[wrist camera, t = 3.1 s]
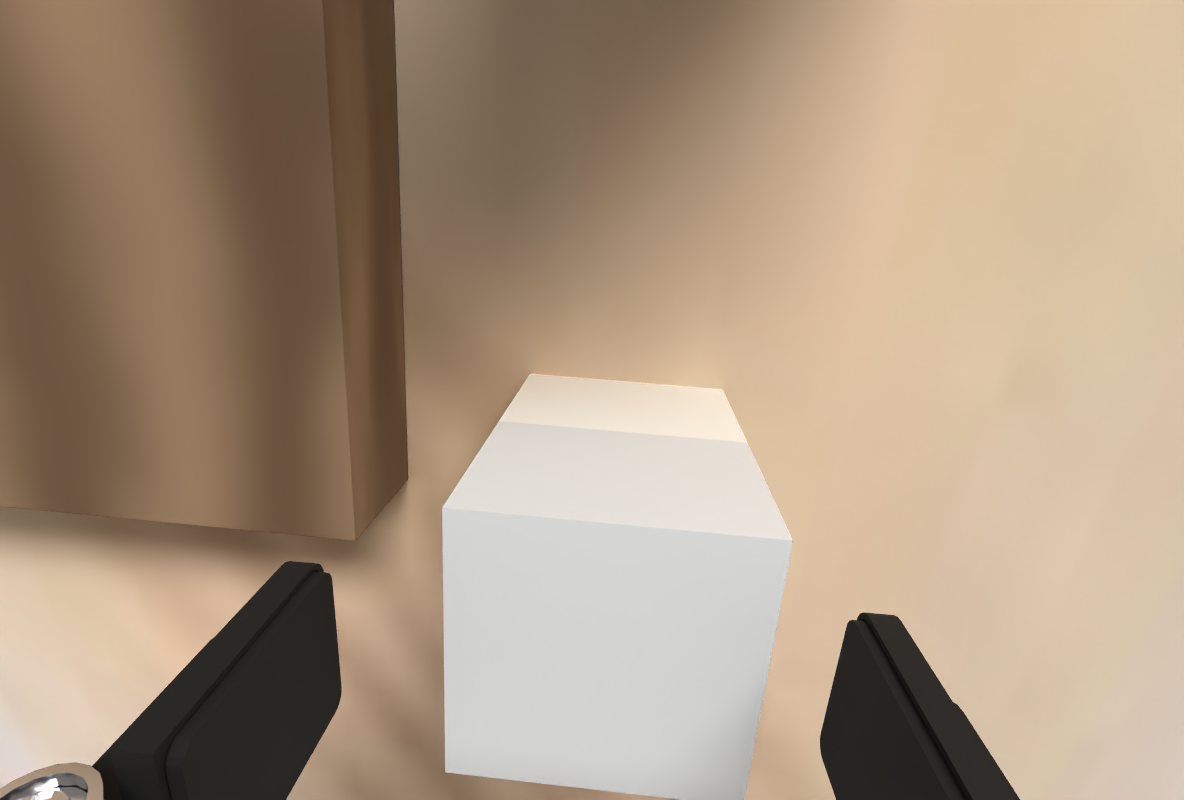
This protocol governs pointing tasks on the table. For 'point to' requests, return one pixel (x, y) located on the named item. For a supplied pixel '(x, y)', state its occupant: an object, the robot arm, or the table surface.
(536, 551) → the white rectangular block
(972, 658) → the table surface
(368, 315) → the walnut stand
